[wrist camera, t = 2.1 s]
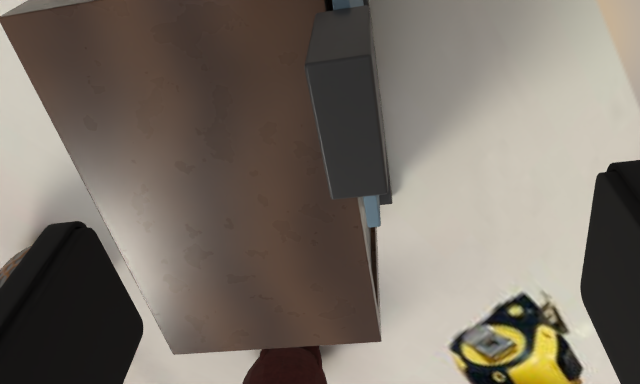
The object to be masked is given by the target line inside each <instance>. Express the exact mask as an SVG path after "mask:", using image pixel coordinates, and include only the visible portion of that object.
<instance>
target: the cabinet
mask: <svg viewBox="0 0 640 384" xmlns="http://www.w3.org/2000/svg"><path fill="white" fill-rule="evenodd" d="M363 4H364V6H365V5H367V6H369V0H363ZM326 11H333V4H332V0H28V1H26V2H24V3H23V4H21V5H19V6H17V7H16V8H14V9H12V10H10V11H9V12H7V13H5V14H3V15H2V16H0V23H1V25H2V27H3V29H4V31H5V32H6V34H7V36H8V38H9V40H10V42H11V44H12V46H13V48H14V50H15V52H16V54H17V55H18V57H19V59H20V61H21V63H22V65H23V67H24V69H25V71H26V73H27V75H28V77H29V78H30V80H31V82H32V84H33V86H34V88H35V90H36V92H37V94H38V96H39V98H40V100H41V101H42V103H43V105H44V107H45V109H46V111H47V113H48V115H49V117H50V119H51V121H52V123H53V125H54V126H55V128H56V130H57V132H58V134H59V136H60V138H61V140H62V142H63V144H64V146H65V148H66V149H67V151H68V153H69V155H70V157H71V159H72V161H73V163H74V165H75V167H76V169H77V171H78V172H79V174H80V176H81V178H82V180H83V182H84V184H85V186H86V188H87V190H88V192H89V194H90V195H91V197H92V199H93V201H94V203H95V205H96V207H97V209H98V211H99V213H100V215H101V217H102V218H103V220H104V222H105V224H106V226H107V228H108V230H109V232H110V234H111V236H112V238H113V240H114V241H115V243H116V245H117V247H118V249H119V251H120V253H121V255H122V257H123V259H124V261H125V263H126V264H127V266H128V268H129V270H130V272H131V274H132V276H133V278H134V280H135V282H136V284H137V286H138V287H139V289H140V291H141V293H142V295H143V297H144V299H145V301H146V303H147V305H148V307H149V309H150V311H151V312H152V314H153V316H154V318H155V320H156V322H157V324H158V326H159V328H160V330H161V332H162V334H163V335H164V337H165V339H166V341H167V343H168V345H169V347H170V349H171V351H172V353H173V354H174V355H175V354H191V353H207V352H223V351H239V350H255V349H272V348H288V347H304V346H320V345H336V344H352V343H368V342H381V323H380V298H379V273H378V247H377V227H368V226H367V220H366V213H365V207H364V201H363V197H355V198H345V199H336V200H333V199H331V197H330V193H329V188H328V183H327V178H326V173H325V168H324V163H323V158H322V153H321V148H320V143H319V138H318V133H317V128H316V123H315V118H314V113H313V108H312V103H311V98H310V93H309V88H308V84H307V79H306V74H305V69H304V65H305V61H306V56H307V51H308V47H309V42H310V37H311V33H312V28H313V23H314V19H315V14H317V13H320V12H326ZM384 138H385V135H384ZM385 151H386V144H385ZM386 165H387V178H388V193H387V194H384V195H379V201H380V205H385V204H392V194H391V186H390V177H389V169H388V160H387V152H386Z"/></svg>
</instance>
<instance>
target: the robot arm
mask: <svg viewBox="0 0 640 384" xmlns="http://www.w3.org/2000/svg"><path fill="white" fill-rule="evenodd" d="M580 287H581V296H582V300H583V303H584V306H585V308H586V310H587V312H588V314H589V316H590V319H591V321H592V323H593V325H594V327H595V329H596V332H597V334H598V336H599V338H600V340H601V342H602V344H603V347H604V349H605V351H606V353H607V355H608V357H609V360H610V362H611V364H612V366H613V368H614V370H615V372H616V375H617V377H618V379H619V381H620V383H621V384H640V160H636V161H626V162H617V163H612V164H610V165H609V167H608V168H607V172H603V173H599V174H598V175H597V178H596V183H595V189H594V196H593V203H592V210H591V216H590V223H589V230H588V237H587V244H586V250H585V257H584V264H583V271H582V278H581V286H580ZM142 335H143V322H142V319H141V317H140V315H139V313H138V311H137V309H136V307H135V305H134V303H133V302H132V300H131V298H130V296H129V294H128V292H127V290H126V288H125V287H124V285H123V283H122V281H121V279H120V277H119V275H118V273H117V272H116V270H115V268H114V266H113V264H112V262H111V260H110V258H109V257H108V255H107V253H106V251H105V249H104V247H103V245H102V243H101V242H100V240H99V238H98V236H97V234H96V233H95V231H94V230H93V229H92V228H87V226H86V225H85V224H84V223H82V222H79V221H75V222H66V223H57V224H51V225H48V226H47V227H46V228H45V229H44V231H43V232H42V233H41V235H40V236H39V237H38V239H37V240H36V241H35V243H34V244H33V245H32V247H31V248H30V249H29V251H28V252H27V253H26V255H25V256H24V257H23V259H22V260H21V261H20V263H19V264H18V265H17V266H16V268H15V269H14V270H13V272H12V273H11V274H10V276H9V277H8V278H7V280H6V281H5V282H4V284H3V285H2V286H1V288H0V384H123V382H124V379H125V377H126V375H127V372H128V370H129V367H130V365H131V362H132V360H133V358H134V355H135V353H136V350H137V348H138V345H139V343H140V340H141V338H142Z"/></svg>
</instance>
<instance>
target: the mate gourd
mask: <svg viewBox="0 0 640 384" xmlns="http://www.w3.org/2000/svg"><path fill="white" fill-rule="evenodd" d="M243 384H327V381H326V377H325V374H324V371H323V369H322V359H321V354H320V350H319V346H304V347H288V348H272V349H262V351H261V353H260V357H259V358H258V359H257V361H256V362H255V363H254V364H253V366H252V367H251V368H250V370H249V371H248V373H247V375H246V377H245V378H244V381H243Z"/></svg>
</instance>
